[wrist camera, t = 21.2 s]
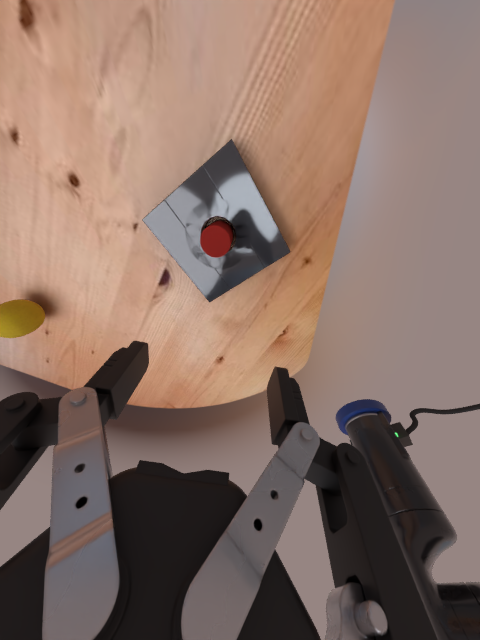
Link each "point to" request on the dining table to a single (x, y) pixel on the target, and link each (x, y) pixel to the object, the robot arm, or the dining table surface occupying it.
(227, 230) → the stopper
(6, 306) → the lemon
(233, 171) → the grey square base
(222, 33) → the dining table surface
